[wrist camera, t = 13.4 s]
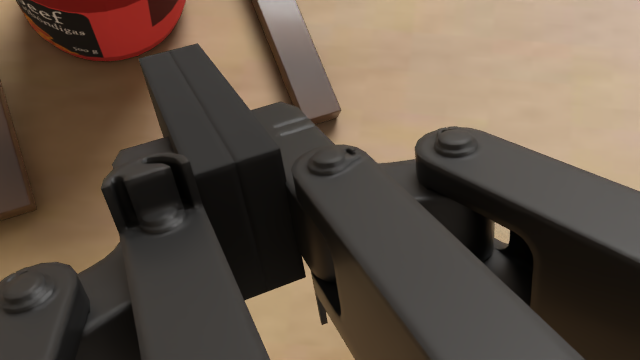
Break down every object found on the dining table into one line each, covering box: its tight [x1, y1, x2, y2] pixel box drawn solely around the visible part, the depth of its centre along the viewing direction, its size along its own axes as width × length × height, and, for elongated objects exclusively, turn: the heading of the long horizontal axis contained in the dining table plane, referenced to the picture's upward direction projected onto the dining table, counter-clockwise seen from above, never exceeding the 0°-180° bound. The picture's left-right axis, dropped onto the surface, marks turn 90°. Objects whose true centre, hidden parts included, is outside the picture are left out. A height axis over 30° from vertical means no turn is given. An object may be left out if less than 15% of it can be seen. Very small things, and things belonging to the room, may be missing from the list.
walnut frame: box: [0, 0, 341, 221], centre depth 29 cm, size 17×17×1 cm
